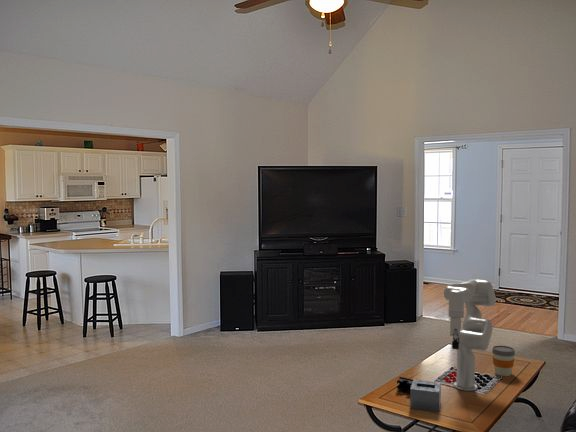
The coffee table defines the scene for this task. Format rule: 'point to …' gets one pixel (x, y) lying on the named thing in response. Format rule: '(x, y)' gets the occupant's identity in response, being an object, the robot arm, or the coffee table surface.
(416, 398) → the box
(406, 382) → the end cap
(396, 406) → the coffee table surface
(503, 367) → the reusable coffee cup
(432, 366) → the coffee table surface
